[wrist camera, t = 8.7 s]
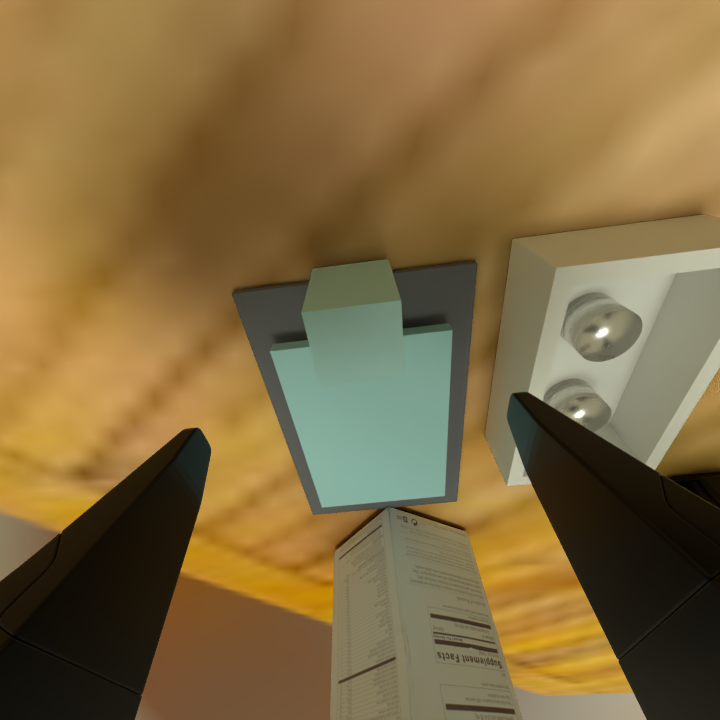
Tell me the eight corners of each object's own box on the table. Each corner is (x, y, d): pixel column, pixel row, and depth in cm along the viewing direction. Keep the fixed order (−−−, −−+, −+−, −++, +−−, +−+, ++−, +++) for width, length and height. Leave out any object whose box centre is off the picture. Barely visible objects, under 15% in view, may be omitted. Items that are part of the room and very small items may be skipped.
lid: (440, 480, 25) (456, 541, 22) (323, 491, 26) (318, 553, 22) (448, 251, 15) (480, 290, 12) (255, 275, 16) (225, 321, 12)
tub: (609, 423, 23) (653, 472, 20) (484, 435, 23) (506, 486, 20) (702, 214, 15) (801, 237, 12) (512, 238, 15) (556, 267, 12)
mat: (455, 497, 27) (456, 501, 27) (313, 510, 28) (313, 514, 28) (474, 260, 16) (477, 263, 16) (234, 290, 17) (231, 293, 16)
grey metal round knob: (604, 337, 18) (629, 358, 16) (551, 343, 18) (571, 364, 16) (621, 289, 16) (652, 306, 15) (563, 295, 16) (587, 314, 15)
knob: (582, 410, 21) (602, 434, 19) (538, 415, 21) (554, 439, 19) (595, 375, 19) (618, 398, 18) (547, 381, 19) (565, 404, 18)
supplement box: (408, 569, 35) (446, 857, 21) (331, 550, 32) (320, 874, 18) (471, 530, 30) (572, 868, 17) (388, 503, 27) (430, 893, 13)
